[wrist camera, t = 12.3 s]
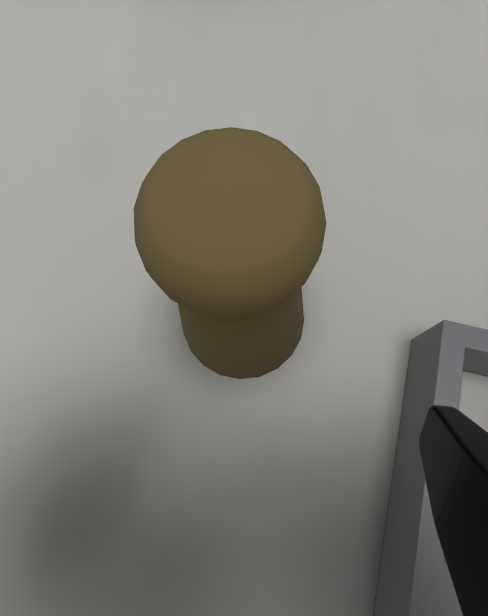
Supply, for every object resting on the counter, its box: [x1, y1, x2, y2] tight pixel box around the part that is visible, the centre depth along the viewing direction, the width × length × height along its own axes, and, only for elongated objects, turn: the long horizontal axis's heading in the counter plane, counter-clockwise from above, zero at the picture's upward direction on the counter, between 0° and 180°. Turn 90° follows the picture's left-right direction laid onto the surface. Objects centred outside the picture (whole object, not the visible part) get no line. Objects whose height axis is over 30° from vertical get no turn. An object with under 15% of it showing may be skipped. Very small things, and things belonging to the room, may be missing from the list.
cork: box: [134, 127, 326, 379], centre depth 15 cm, size 6×6×11 cm
